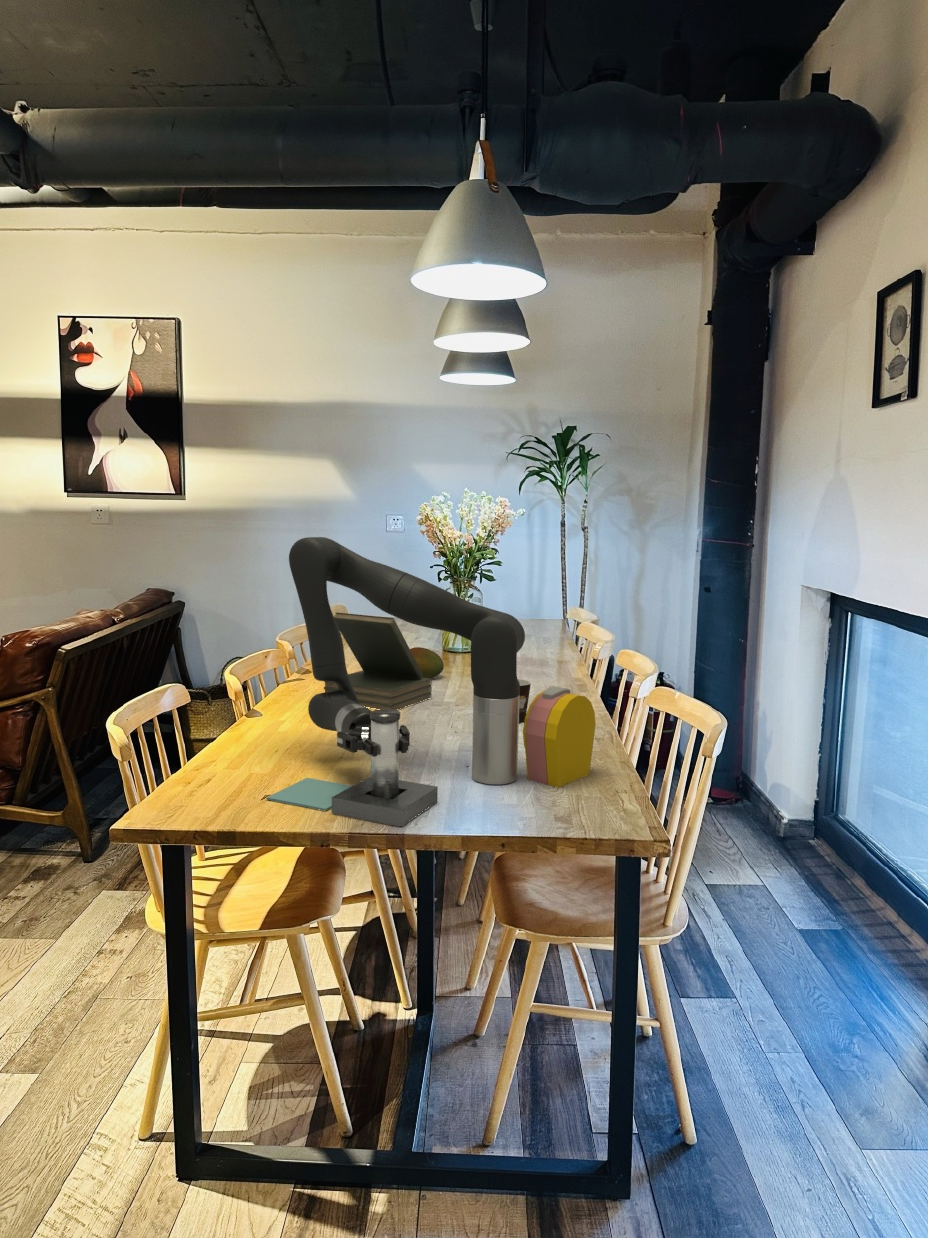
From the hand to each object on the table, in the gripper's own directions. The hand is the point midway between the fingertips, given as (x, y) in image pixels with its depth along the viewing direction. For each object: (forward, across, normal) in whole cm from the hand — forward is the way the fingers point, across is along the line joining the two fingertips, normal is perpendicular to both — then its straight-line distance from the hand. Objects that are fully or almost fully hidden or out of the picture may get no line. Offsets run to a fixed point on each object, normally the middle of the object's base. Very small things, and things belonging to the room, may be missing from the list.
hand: (390, 749), depth 152 cm
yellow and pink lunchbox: (-6, +39, +12) cm, 41 cm away
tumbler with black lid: (-3, 0, +9) cm, 9 cm away
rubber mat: (-14, -10, +12) cm, 21 cm away
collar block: (-3, 0, +12) cm, 12 cm away
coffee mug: (-51, +51, +12) cm, 73 cm away
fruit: (-107, +52, +12) cm, 120 cm away
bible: (-84, +28, +12) cm, 89 cm away
